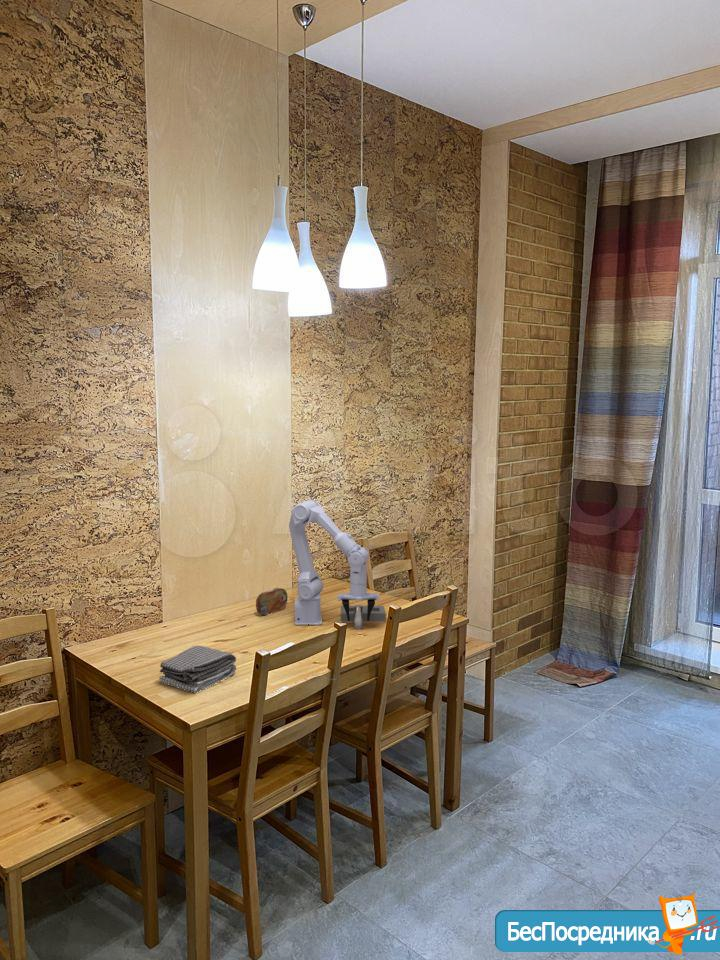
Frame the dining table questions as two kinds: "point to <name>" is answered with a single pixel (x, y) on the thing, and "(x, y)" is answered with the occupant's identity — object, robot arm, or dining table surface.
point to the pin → (358, 617)
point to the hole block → (365, 614)
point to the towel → (197, 668)
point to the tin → (271, 601)
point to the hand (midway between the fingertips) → (358, 620)
